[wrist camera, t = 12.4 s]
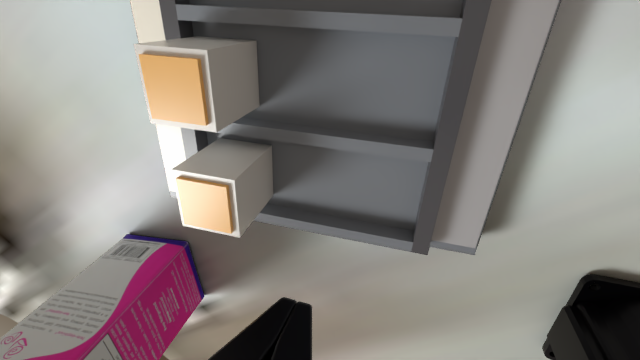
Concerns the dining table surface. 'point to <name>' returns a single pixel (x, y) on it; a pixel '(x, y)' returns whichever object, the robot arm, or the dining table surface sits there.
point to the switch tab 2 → (224, 186)
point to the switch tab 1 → (199, 81)
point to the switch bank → (372, 108)
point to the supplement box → (114, 306)
